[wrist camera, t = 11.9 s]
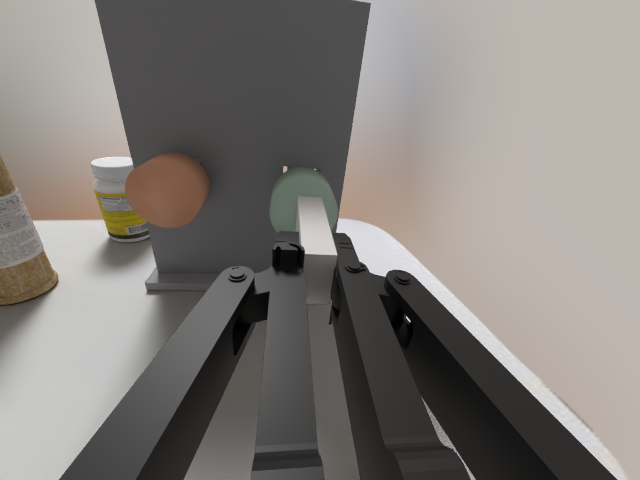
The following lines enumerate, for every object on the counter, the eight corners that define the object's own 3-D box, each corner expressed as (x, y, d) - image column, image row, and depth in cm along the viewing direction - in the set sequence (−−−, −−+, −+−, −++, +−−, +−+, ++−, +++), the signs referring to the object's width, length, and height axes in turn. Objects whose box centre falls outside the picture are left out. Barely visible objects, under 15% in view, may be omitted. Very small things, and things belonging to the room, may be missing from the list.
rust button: (133, 226, 18) (116, 160, 16) (188, 175, 28) (182, 129, 26) (202, 229, 19) (195, 166, 17) (232, 178, 29) (229, 134, 27)
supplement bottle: (126, 222, 34) (107, 153, 30) (165, 225, 34) (151, 158, 30) (99, 241, 30) (72, 164, 26) (143, 245, 30) (124, 169, 26)
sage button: (269, 241, 18) (270, 178, 16) (275, 185, 28) (277, 141, 26) (333, 244, 19) (342, 183, 17) (317, 188, 29) (322, 145, 27)
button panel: (146, 290, 24) (53, -59, 13) (175, 248, 30) (126, -16, 19) (335, 292, 26) (385, -2, 16) (326, 253, 32) (358, 21, 22)
